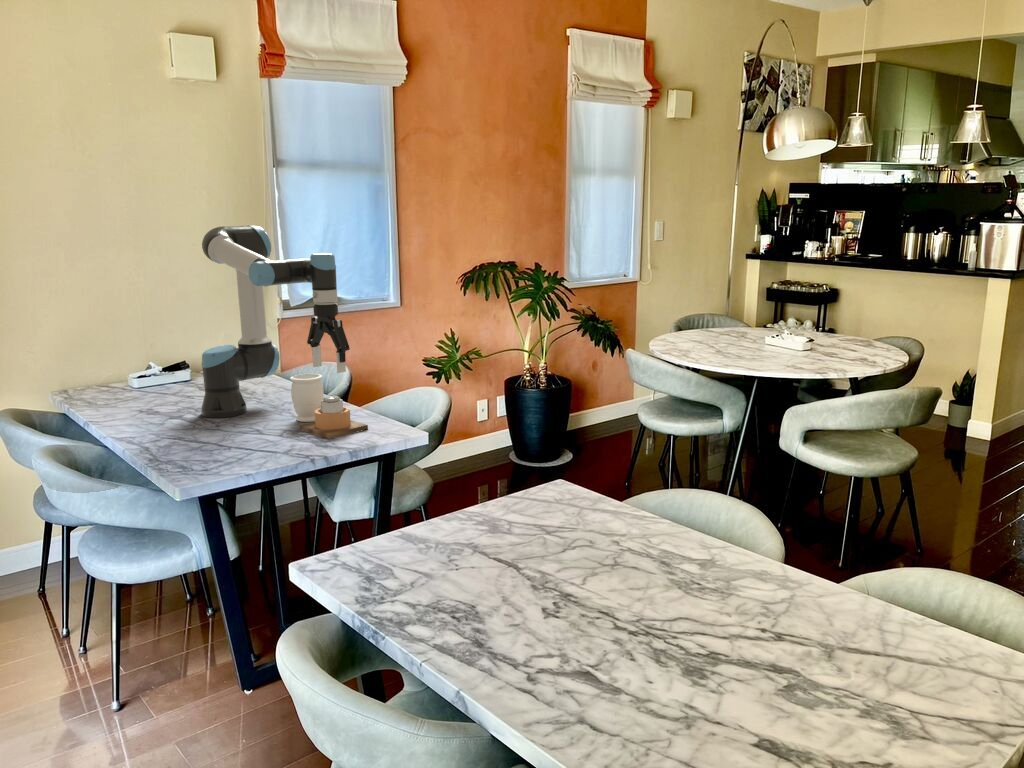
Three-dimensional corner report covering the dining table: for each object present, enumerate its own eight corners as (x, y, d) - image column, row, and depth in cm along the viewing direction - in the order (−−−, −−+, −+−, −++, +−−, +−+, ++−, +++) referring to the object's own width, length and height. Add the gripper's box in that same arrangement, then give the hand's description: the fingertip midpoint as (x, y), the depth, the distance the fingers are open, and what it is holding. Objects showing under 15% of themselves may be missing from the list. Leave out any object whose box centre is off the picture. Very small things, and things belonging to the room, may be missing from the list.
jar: (329, 415, 285) (326, 373, 282) (319, 423, 275) (316, 379, 272) (299, 415, 286) (296, 373, 283) (288, 423, 276) (285, 379, 273)
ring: (309, 425, 267) (308, 410, 266) (337, 418, 274) (336, 404, 273) (328, 431, 259) (327, 416, 258) (357, 424, 267) (356, 409, 266)
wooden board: (299, 429, 268) (298, 425, 267) (338, 420, 278) (337, 416, 278) (328, 439, 256) (328, 434, 256) (368, 429, 266) (367, 424, 266)
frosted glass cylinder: (317, 425, 267) (316, 398, 265) (336, 421, 272) (334, 394, 270) (330, 429, 262) (328, 401, 260) (348, 424, 267) (346, 397, 265)
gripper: (293, 301, 264) (298, 365, 269) (338, 307, 247) (341, 376, 252) (313, 299, 269) (317, 362, 274) (358, 305, 252) (362, 372, 257)
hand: (329, 369), depth 263 cm, fingers open, 13 cm apart
